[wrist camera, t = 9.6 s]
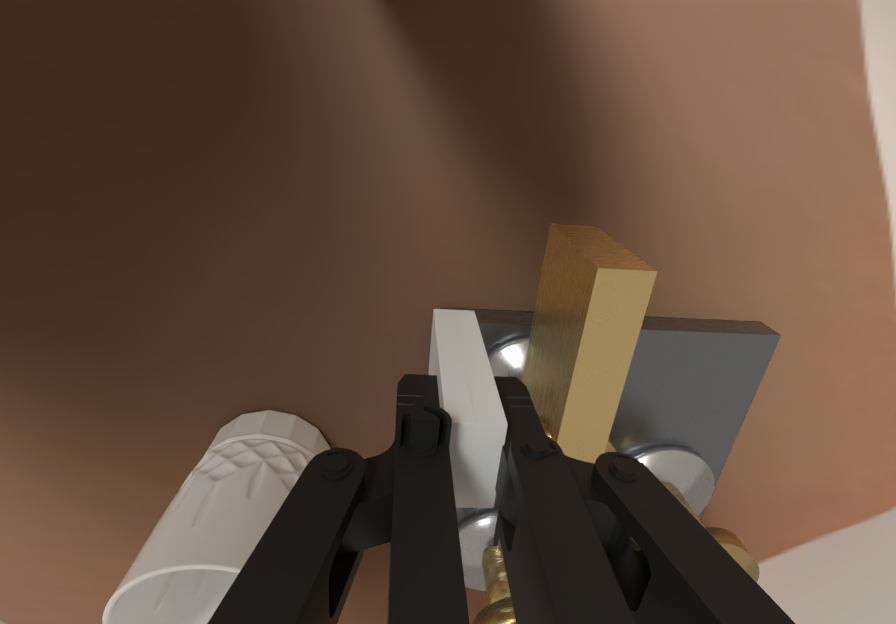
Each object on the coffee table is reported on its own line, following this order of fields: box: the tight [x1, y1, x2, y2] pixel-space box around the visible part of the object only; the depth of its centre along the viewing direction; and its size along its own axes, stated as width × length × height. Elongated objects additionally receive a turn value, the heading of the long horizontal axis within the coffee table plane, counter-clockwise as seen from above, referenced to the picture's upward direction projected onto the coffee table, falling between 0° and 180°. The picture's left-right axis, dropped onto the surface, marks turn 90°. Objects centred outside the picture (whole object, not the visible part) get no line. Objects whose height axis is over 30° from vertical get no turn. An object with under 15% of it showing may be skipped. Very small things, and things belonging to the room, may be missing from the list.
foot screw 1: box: [473, 544, 516, 624], centre depth 28 cm, size 12×5×6 cm, turn 58°
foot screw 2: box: [522, 223, 657, 464], centre depth 20 cm, size 12×5×6 cm, turn 175°
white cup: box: [102, 410, 330, 624], centre depth 23 cm, size 8×8×10 cm
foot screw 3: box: [663, 484, 759, 583], centre depth 27 cm, size 12×5×6 cm, turn 25°
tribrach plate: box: [440, 308, 781, 591], centre depth 28 cm, size 20×18×3 cm
